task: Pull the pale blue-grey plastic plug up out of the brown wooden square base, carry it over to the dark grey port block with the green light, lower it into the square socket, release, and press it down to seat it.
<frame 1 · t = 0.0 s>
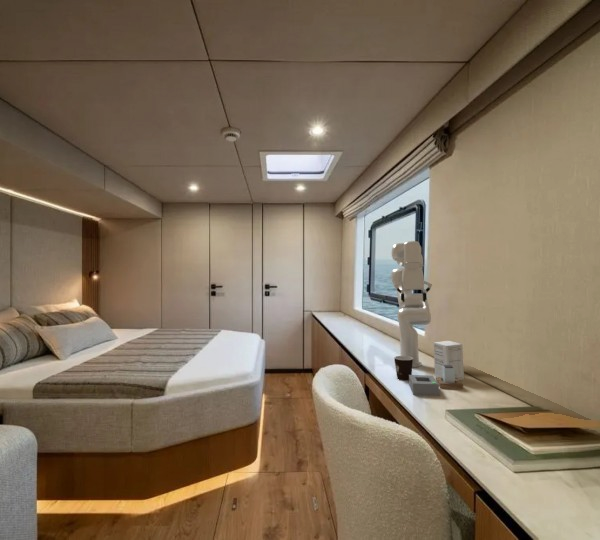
hand: (413, 301, 156), 37 cm above the table, tool pointing down, fingers open, 9 cm apart
plug: (448, 385, 141), resting on brown wooden square base
brown wooden square base: (448, 386, 141), on the table
coffee mug: (403, 378, 155), on the table
port: (423, 391, 136), on the table
supplement box: (449, 378, 153), on the table
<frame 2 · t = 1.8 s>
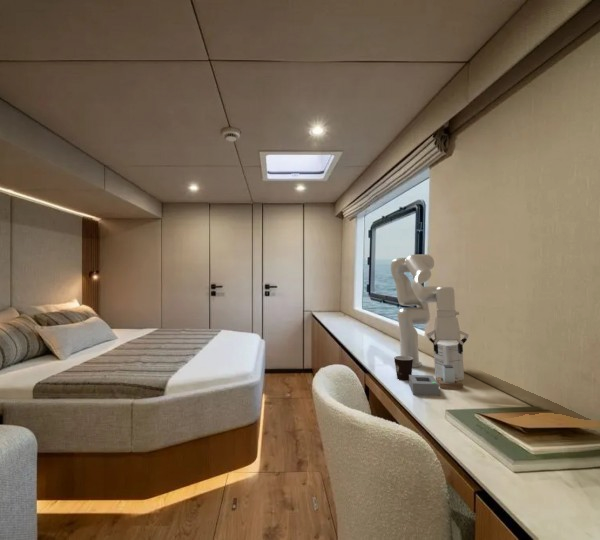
hand: (448, 353, 141), 15 cm above the table, tool pointing down, fingers open, 9 cm apart
nothing on the table moved.
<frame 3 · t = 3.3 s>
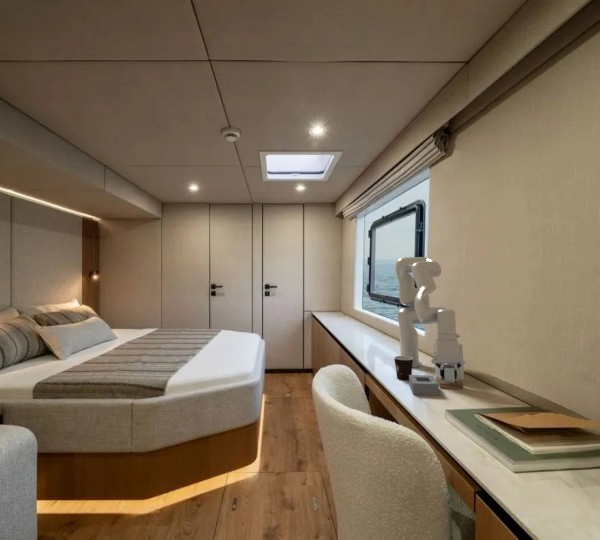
hand: (448, 378, 142), 4 cm above the table, tool pointing down, fingers closed on plug, 4 cm apart
plug: (448, 385, 141), resting on brown wooden square base, touching gripper
everything else where it was.
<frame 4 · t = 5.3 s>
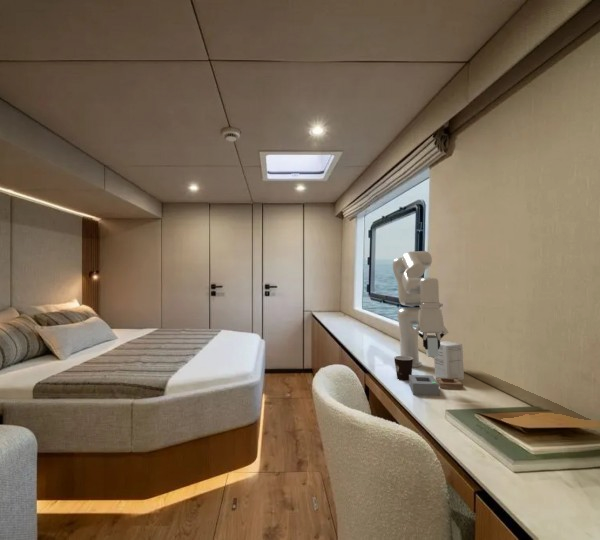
hand: (431, 348, 138), 18 cm above the table, tool pointing down, fingers closed on plug, 4 cm apart
plug: (432, 355, 138), point 14 cm above the table, touching gripper
everything else where it was.
when the fingers open (6 cm above the table, at t = 7.6 s): plug drops 2 cm, resting on port.
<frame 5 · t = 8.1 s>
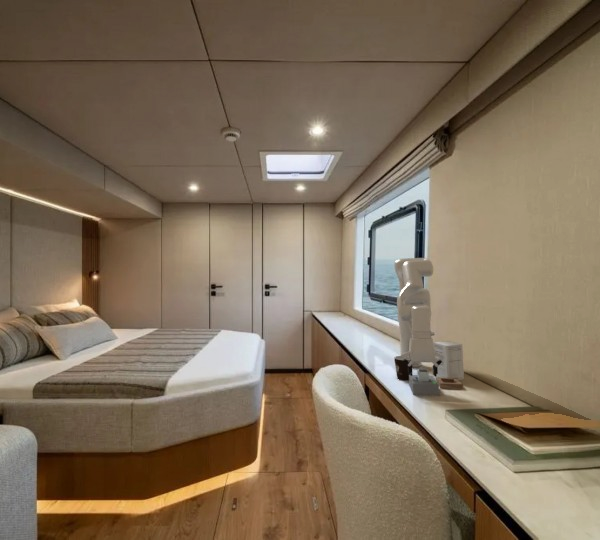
hand: (422, 375, 136), 7 cm above the table, tool pointing down, fingers open, 9 cm apart
plug: (423, 389, 136), point 1 cm above the table, touching port
everything else where it was.
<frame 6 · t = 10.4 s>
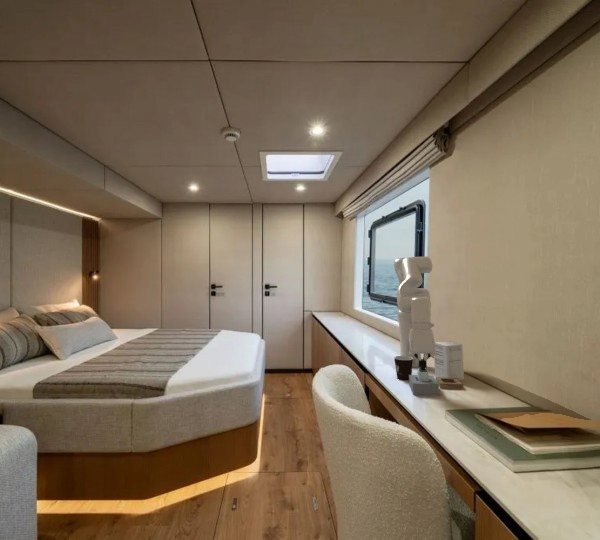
hand: (422, 369, 136), 9 cm above the table, tool pointing down, fingers closed
plug: (423, 389, 136), point 1 cm above the table, touching gripper, port
everything else where it was.
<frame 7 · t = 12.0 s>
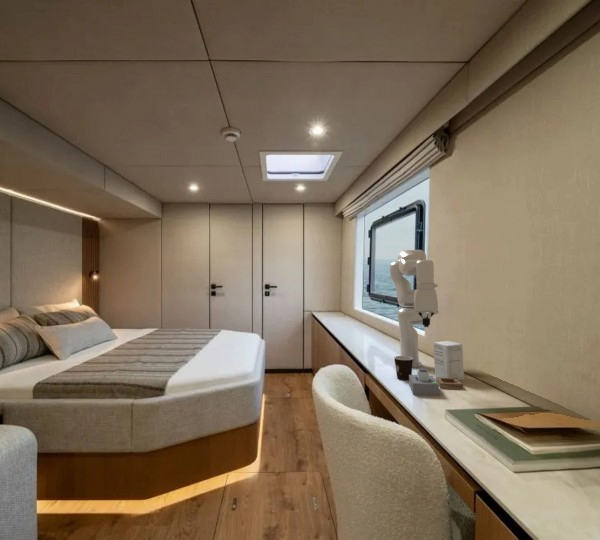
hand: (426, 326, 147), 26 cm above the table, tool pointing down, fingers closed
plug: (423, 389, 136), point 1 cm above the table, touching port
everything else where it was.
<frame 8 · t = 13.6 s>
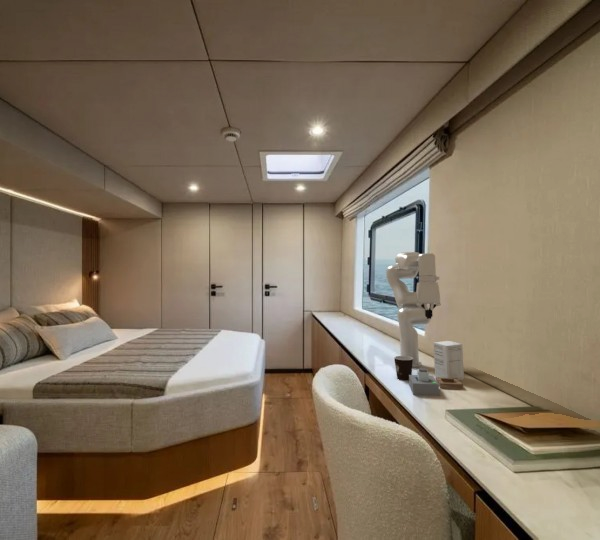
hand: (428, 318, 150), 29 cm above the table, tool pointing down, fingers closed
nothing on the table moved.
at the end: plug 0.0 cm off-centre on the port, point 0.6 cm above the port's base; plug tilted 0°; the gripper is holding nothing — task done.
